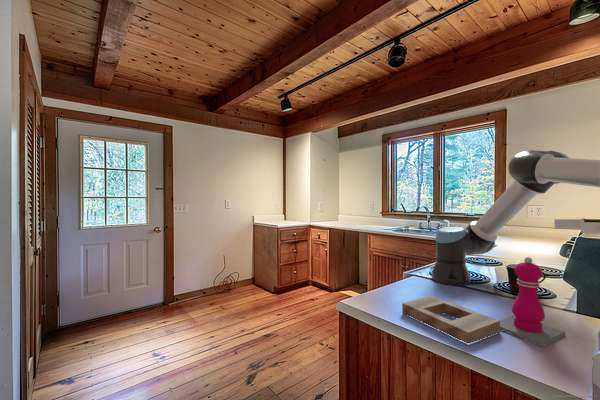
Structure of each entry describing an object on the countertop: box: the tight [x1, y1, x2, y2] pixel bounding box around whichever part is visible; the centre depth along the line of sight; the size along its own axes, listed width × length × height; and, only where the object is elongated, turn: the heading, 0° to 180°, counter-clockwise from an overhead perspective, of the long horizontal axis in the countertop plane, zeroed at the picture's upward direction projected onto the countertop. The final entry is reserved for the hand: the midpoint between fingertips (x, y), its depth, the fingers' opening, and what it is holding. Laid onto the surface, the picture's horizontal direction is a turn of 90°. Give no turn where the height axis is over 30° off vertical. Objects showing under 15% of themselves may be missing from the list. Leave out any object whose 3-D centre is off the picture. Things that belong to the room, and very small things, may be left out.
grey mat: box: [499, 314, 566, 347], centre depth 80 cm, size 12×12×1 cm
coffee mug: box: [506, 263, 547, 295], centre depth 109 cm, size 12×9×10 cm
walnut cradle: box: [401, 295, 501, 343], centre depth 86 cm, size 22×14×4 cm, turn 26°
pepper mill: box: [511, 256, 546, 333], centre depth 79 cm, size 7×7×20 cm
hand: (567, 225), depth 77 cm, fingers open, 13 cm apart
